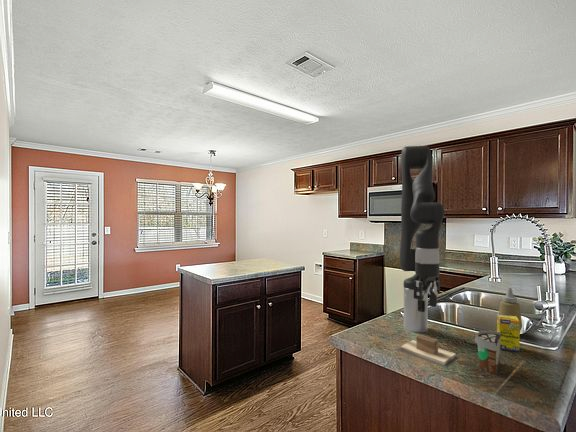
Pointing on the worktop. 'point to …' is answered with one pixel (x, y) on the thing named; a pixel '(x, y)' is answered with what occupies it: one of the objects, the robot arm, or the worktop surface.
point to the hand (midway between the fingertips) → (427, 308)
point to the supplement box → (508, 332)
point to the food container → (488, 350)
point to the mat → (432, 361)
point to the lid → (428, 350)
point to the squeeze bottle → (510, 306)
